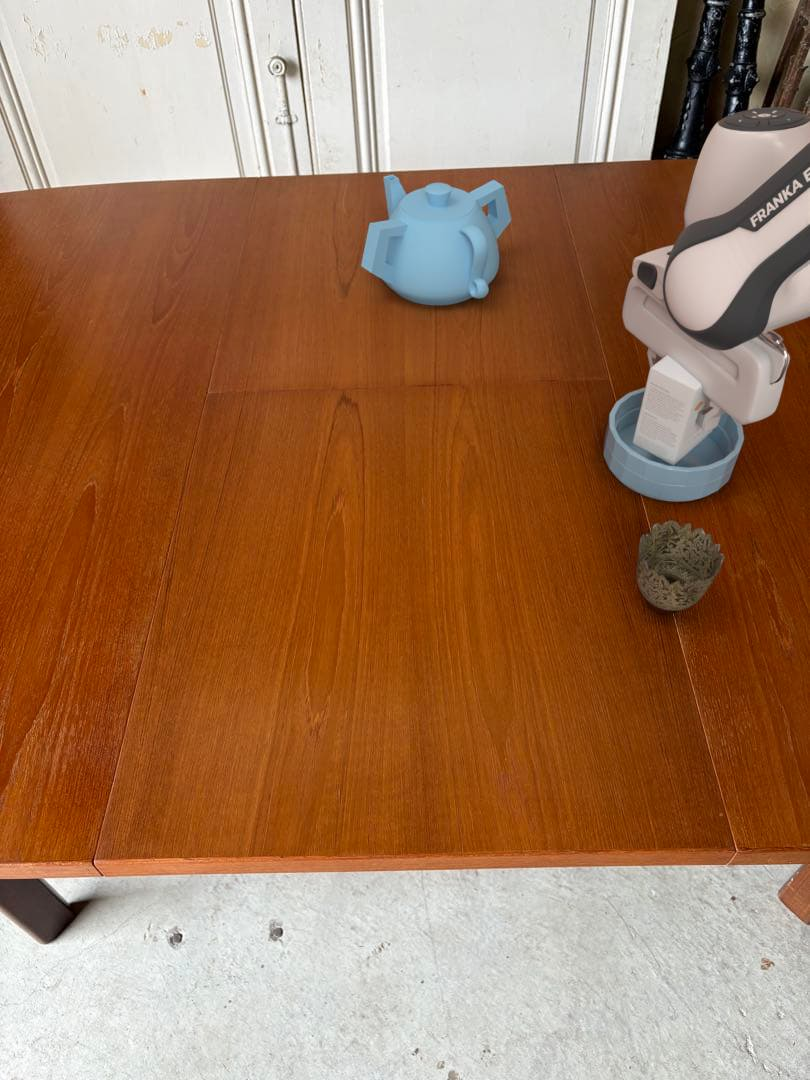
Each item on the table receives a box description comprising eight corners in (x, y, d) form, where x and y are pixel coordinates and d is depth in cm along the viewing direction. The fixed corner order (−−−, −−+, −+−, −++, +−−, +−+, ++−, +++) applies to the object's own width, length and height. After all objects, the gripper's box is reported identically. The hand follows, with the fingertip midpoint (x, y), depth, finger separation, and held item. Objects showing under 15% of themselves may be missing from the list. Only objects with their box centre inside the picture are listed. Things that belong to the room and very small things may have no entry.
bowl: (758, 477, 91) (772, 444, 88) (654, 520, 87) (664, 487, 84) (676, 405, 100) (685, 372, 96) (578, 441, 96) (584, 408, 92)
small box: (670, 410, 94) (692, 333, 86) (713, 432, 92) (739, 354, 84) (630, 443, 91) (648, 366, 83) (673, 467, 88) (696, 389, 80)
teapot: (509, 253, 125) (515, 162, 115) (489, 323, 113) (494, 228, 103) (389, 242, 129) (384, 153, 118) (356, 309, 116) (348, 216, 106)
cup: (670, 647, 77) (690, 595, 71) (609, 601, 80) (623, 548, 74) (717, 604, 80) (740, 551, 74) (655, 562, 84) (673, 508, 78)
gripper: (821, 336, 72) (772, 453, 82) (673, 236, 84) (647, 348, 95) (766, 357, 70) (723, 473, 81) (623, 251, 83) (602, 363, 93)
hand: (681, 405), depth 88 cm, fingers closed on small box, 6 cm apart
